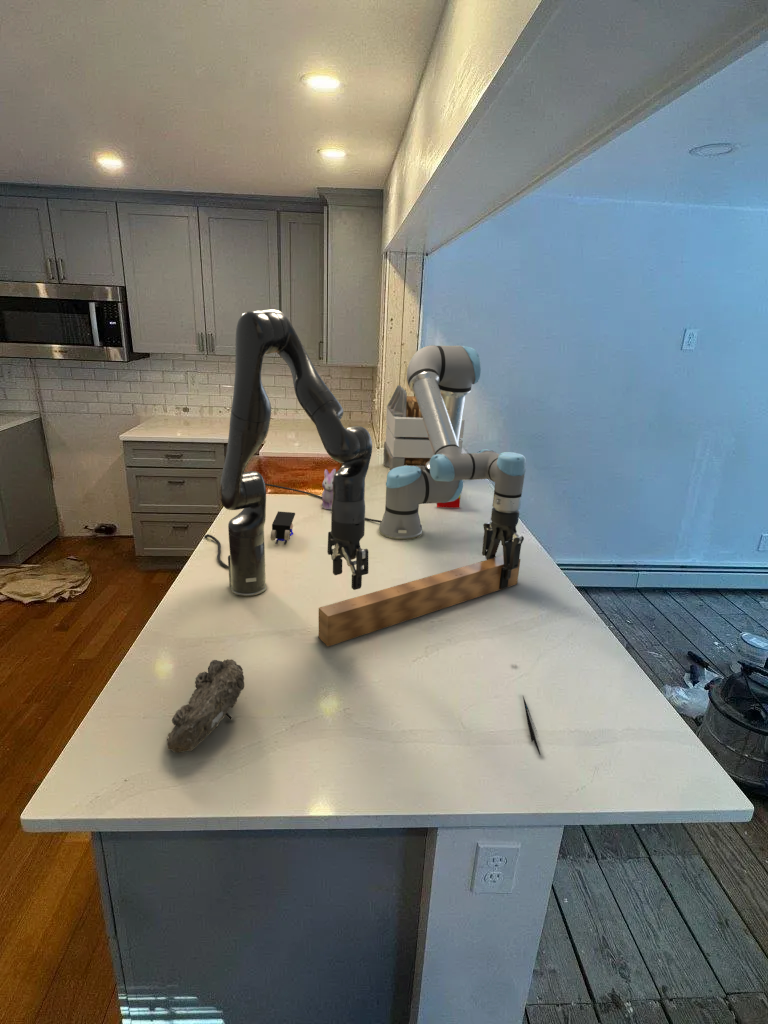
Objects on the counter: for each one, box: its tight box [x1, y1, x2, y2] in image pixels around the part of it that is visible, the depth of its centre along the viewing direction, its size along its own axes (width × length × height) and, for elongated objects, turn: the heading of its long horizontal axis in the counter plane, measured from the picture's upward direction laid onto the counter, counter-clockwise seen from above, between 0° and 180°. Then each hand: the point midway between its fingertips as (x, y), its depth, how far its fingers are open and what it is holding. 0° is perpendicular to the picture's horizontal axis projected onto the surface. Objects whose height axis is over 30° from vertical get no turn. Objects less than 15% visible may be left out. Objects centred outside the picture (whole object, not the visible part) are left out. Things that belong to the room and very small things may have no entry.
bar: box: [318, 555, 521, 647], centre depth 150 cm, size 64×5×8 cm, turn 125°
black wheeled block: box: [270, 510, 296, 546], centre depth 190 cm, size 7×8×15 cm
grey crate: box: [383, 384, 465, 471], centre depth 268 cm, size 34×33×41 cm
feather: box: [513, 664, 541, 755], centre depth 114 cm, size 2×28×2 cm
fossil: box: [166, 658, 245, 754], centre depth 106 cm, size 22×10×15 cm
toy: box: [436, 494, 462, 509], centre depth 239 cm, size 12×13×30 cm
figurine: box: [321, 468, 337, 510], centre depth 222 cm, size 9×10×15 cm
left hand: (346, 581), depth 132 cm, fingers open, 8 cm apart
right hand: (496, 584), depth 165 cm, fingers closed on bar, 5 cm apart
